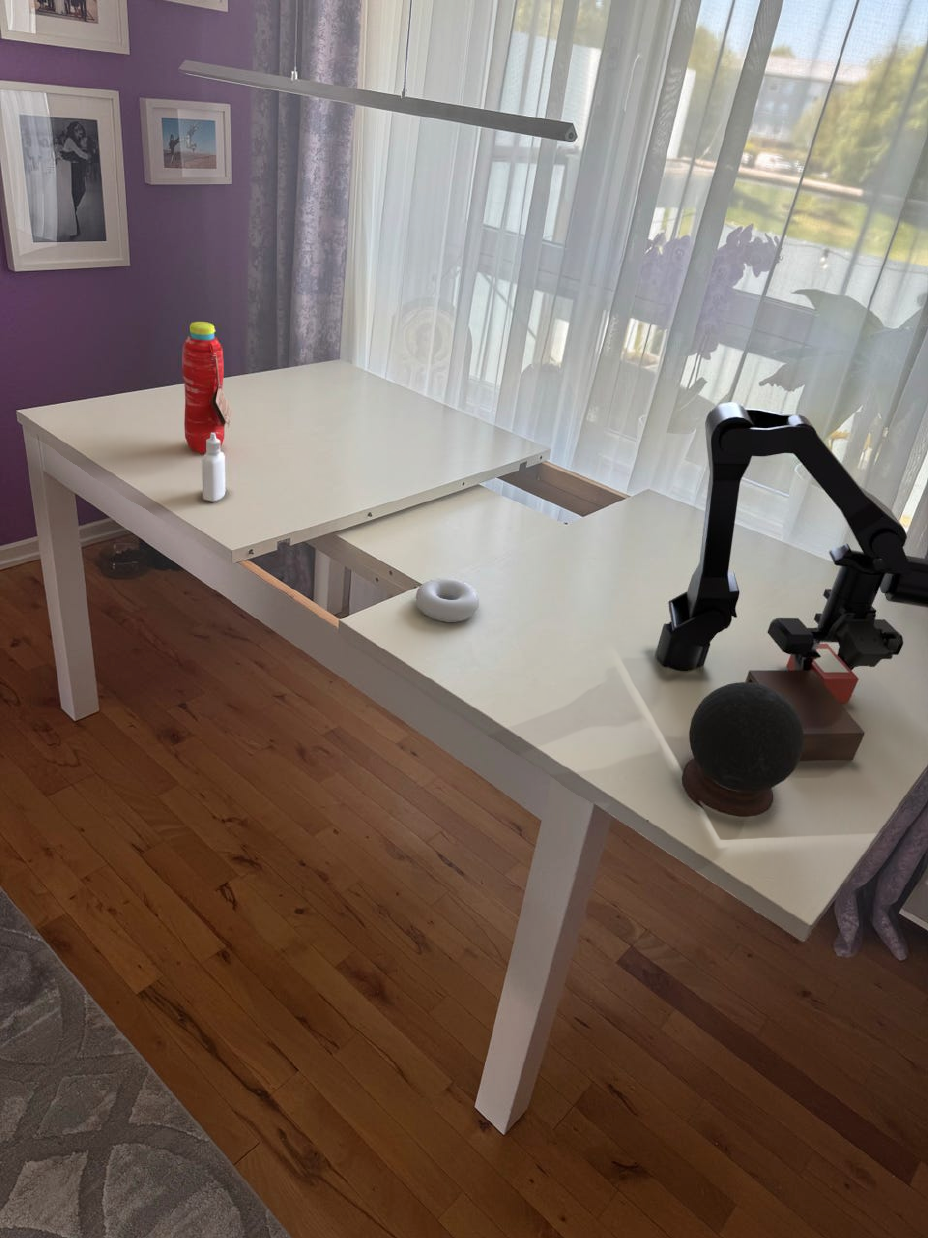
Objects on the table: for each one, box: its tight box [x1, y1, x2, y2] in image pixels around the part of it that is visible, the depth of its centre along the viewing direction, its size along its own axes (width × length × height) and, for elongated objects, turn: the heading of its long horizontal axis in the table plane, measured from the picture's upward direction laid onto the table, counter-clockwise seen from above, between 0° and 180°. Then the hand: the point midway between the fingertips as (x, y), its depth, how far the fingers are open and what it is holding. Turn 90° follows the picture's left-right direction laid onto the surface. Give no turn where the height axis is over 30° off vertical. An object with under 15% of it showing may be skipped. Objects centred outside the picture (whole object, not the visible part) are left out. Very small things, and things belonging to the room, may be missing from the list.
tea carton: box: [785, 643, 859, 703], centre depth 135 cm, size 6×9×5 cm, turn 10°
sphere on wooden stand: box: [681, 681, 804, 818], centre depth 110 cm, size 13×13×15 cm
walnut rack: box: [744, 669, 866, 762], centre depth 124 cm, size 10×14×5 cm
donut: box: [414, 577, 480, 623], centre depth 141 cm, size 10×4×10 cm
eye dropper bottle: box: [201, 433, 226, 502], centre depth 162 cm, size 4×6×12 cm
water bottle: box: [181, 321, 233, 455], centre depth 176 cm, size 12×8×25 cm, turn 46°
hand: (816, 683), depth 136 cm, fingers closed on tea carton, 5 cm apart
